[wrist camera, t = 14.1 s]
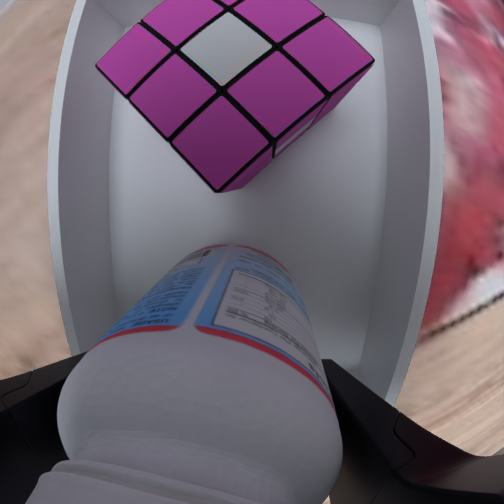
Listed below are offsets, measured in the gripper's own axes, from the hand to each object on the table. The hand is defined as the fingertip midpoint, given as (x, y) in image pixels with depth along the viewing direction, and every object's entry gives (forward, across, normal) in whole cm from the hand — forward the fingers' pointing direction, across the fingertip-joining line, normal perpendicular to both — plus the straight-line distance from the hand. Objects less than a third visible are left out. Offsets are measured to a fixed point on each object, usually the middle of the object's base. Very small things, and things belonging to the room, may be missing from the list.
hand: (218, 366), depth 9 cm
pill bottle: (+4, 0, 0) cm, 4 cm away
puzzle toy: (+6, 0, -9) cm, 11 cm away
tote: (+6, 0, -5) cm, 8 cm away
